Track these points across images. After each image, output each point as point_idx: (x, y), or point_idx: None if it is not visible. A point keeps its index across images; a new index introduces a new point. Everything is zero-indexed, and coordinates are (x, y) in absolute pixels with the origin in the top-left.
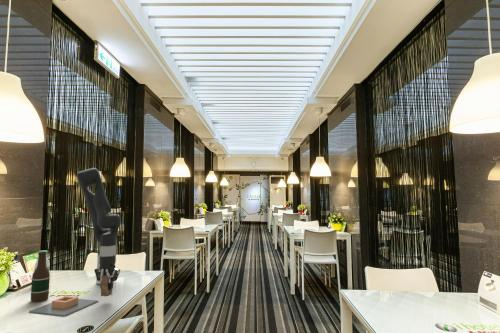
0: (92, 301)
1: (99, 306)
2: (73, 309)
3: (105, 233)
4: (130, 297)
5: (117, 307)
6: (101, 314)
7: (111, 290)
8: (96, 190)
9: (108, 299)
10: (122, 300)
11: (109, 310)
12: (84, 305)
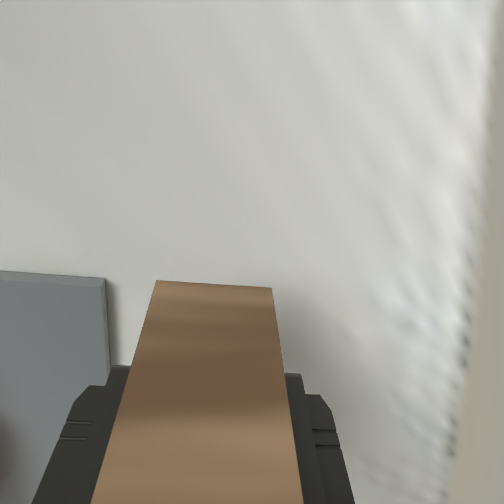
0: (58, 321)
1: None
2: None
3: None
4: (466, 20)
5: (426, 378)
6: (360, 498)
7: (276, 339)
8: None
9: (168, 171)
10: (392, 180)
11: (384, 438)
12: None
